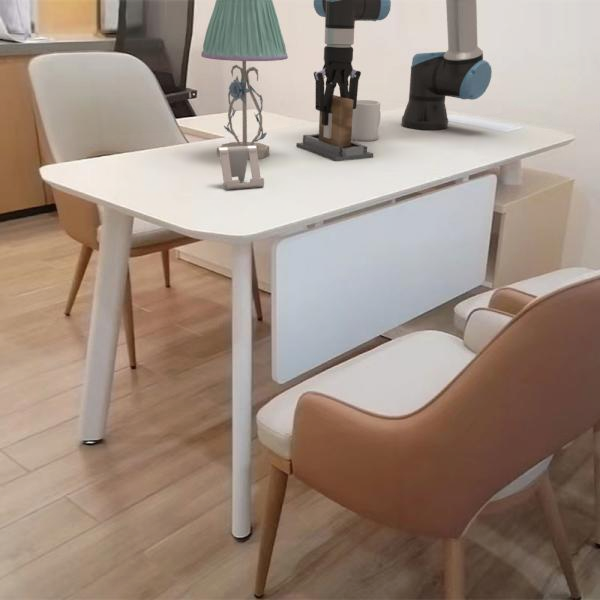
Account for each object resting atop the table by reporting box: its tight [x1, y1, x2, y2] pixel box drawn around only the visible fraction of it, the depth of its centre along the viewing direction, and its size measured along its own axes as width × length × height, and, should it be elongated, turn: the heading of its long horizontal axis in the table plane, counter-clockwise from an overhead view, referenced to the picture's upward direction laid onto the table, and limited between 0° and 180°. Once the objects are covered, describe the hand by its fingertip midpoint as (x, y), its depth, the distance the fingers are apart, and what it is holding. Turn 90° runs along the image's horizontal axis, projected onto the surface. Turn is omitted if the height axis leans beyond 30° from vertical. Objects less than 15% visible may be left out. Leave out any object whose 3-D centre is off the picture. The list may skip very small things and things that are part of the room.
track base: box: [296, 133, 374, 162], centre depth 200 cm, size 12×20×3 cm, turn 30°
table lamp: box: [200, 0, 289, 161], centre depth 186 cm, size 22×22×40 cm
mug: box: [351, 99, 381, 142], centre depth 218 cm, size 9×12×11 cm
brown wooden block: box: [318, 94, 353, 147], centre depth 197 cm, size 4×10×12 cm, turn 30°
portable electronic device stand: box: [216, 145, 265, 191], centre depth 163 cm, size 9×8×8 cm
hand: (334, 136), depth 199 cm, fingers closed on brown wooden block, 4 cm apart
